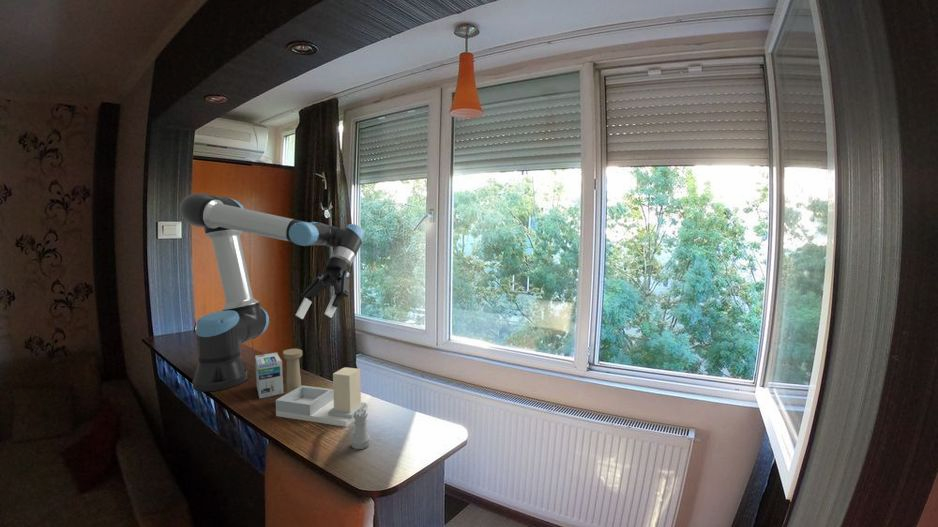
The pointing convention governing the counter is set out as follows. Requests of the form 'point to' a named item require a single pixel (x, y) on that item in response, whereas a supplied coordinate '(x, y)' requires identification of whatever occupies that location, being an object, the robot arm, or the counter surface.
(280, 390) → the light bulb box
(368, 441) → the rook chess piece
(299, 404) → the white tray base
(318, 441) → the counter surface
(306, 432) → the counter surface
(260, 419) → the counter surface
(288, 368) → the beige tall capped post
